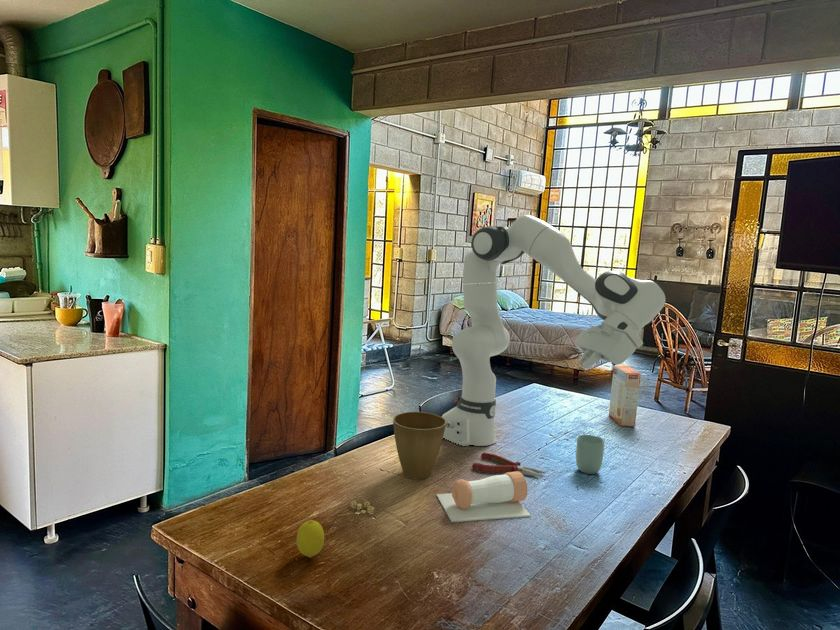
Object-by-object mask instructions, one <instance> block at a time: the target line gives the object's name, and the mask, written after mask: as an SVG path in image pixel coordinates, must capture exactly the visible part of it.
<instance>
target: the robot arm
mask: <svg viewBox="0 0 840 630" xmlns="http://www.w3.org/2000/svg"><path fill="white" fill-rule="evenodd" d="M470 244H471V249H472V250H471V251H469V252H468V253H467V254H466V255H465V257H464V263H463V268H462V269H463V270H462V289H463V290H462V291H463V294H462V295H463V307H464V309H465V311H466V312H467V313H468V314H469V316H470V319H471V322H472V323H471V324H472V326H467V327H465V328H463V329H461V330H460V331H458V332H456V333H455V334H454V335H453V337H452V340H451V349H452V351H453V354H454V355H455V356H456V357H457V358H458V360H459V363H460V367H461V372H462V373H461V374H462V388H461V396H458V397H456V398H454V403H457V404H456V406H454V407H453V408H450V410H448V411H446V412H445V413H443V414H442V416H441V417H442V418H444V419H445V420H446V426H445V431H444V435H443V438H445V439H444V440H446V439H447V441H448V440H449V442H450V441H451V443H453V442H454V443H453V444H455V443H456V445H458V444H459V445H458V446H460V445H462V447H470V446H469V445H474V446H475V447H484V446H490V445H494V444H495V443H497V441H498V439H497V435H496V426H495V416H496V407H497V405H496V403H497V400H496V384H497V377H496V374H495V373H494V372H493V371H492V367H491V361H490V359H491V357H494V356H498V355H499V354H501V353H503V352H504V351H505V350H506V349H508V347H509V346H510V342H511V336H510V333H509V331H508V329H507V328H506V327H505V325H504V323H503V321H502V318H501V317H502V316H501V314H500V311H499V305H498V289H497V288H498V287H497V269H498V266H499V265H500V264H501V265H505V264H507V263H510V262H512V261H515V260H517V259H519V258H521V257H522V256H523V255H524V254H527V255H528V256H530V257H531V258H532V259H533V260H535V261H536V262H537V263H538V264H541V265H542V266H543V267H545V268H546V269H547V270H548V271H550V272H551V273H553V274H554V275H556V276H557V277H558V278H559V279H561V280H562V281H564V283H565V284H566V285H568V286H569V287H570V288H571V289H573V290H574V291H575V292H577V294H579V295H580V296H581V297H583V299H584V300H586V301H587V302H588V303H589V304H590V305H591V307H592V308H593V310H594V311H595V314H596V315H597V316H598V317H599V318H600V319H601V320H603V321H602V322H601V323H600V324H598V325H596V326H591V327H588V328H587V329H585V331H584V332H582V333H581V334H580V335H579V336H577V337H576V338H575V340H574V341H573V344H574V345H575V347H576V348H577V350H579V351H580V352H583V354H582V356H581V358H580V359H579V361H578V365H579V366H580V367H583V368H585V369H588V368H590V367H591V366H592V365H594V364H596V363H598V362H600V360H604V361H606V362H609V363H611V364H614V365H617V366H620V365H621V364H623V363H625V362H626V361H627V360H628V359H629V358H630V357H632V355H633V353H635V351H636V350H637V349H639V348H640V347H642V346H643V345H644V342H643V340H642V339H641V337H640V336H639V334H640V332H641V331H642V329H643V328H644V327H645V326H646V325H648V324H649V323H651V322H652V320H654V319H655V318H656V316H657V315H658V314H660V312H661V311H662V309H663V308H664V307H665V304H666V295H665V292H664V290H663V289H662V287H661V286H660V285H659V284H657V282H655V281H653V280H649V279H646V280H643V279H637V278H634V277H631V276H629V275H626V274H625V273H623V272H621V271H618V270H607V271H605V272H603V273H600V275H599V276H598V277H597V278H594V277H593V276H592V275H591V274H589V273H588V272H587V271H586V270H584V268H583V267H582V265H580V263H579V261H578V259H577V256H576V254H575V252H574V249H573V245H572V244H571V242H570V240H569V239H568V238H567V237H566V235H564V233H563V232H561V231H560V230H559V229H557V228H556V227H554V226H552V225H551V224H549V223H547V222H546V221H544V220H542V219H541V218H538V217H536V216H533V215H530V214H523V215H520V216H519V217H517V218H516V219H515V220H513V223H512V224H511V226H510V227H508V226H502V225H500V226H499V225H497V226H496V225H488V226H484V227H481V228H479V229H477V230H476V231H475V232H474V233H473V235H472V238H471V243H470ZM474 446H473V447H474Z"/></svg>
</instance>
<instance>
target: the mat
mask: <svg viewBox="0 0 840 630" xmlns="http://www.w3.org/2000/svg"><path fill="white" fill-rule="evenodd" d="M435 496H436V497H438V498H437V499H438V500H439V502H440V504H441V507H442V508H443V510H444V511H445V513H446V514H447V517H448V518H449V520H450V521H451V523H459V522H473V521H474V522H475V521H488V520H501V519H514V518H515V519H519V518H530V517H531V514H530V513H529V512H528V510H527V509H526V508H525V507H524V506H523V505H522V503H520V501H516V502H509V501H506V502H500V503H485V502H484V503H477V504H471V505H470V506H469V507H468V508H466V509H462V508H460V507H458V506H457V505H456V503H455V501H454V498H453V497H452V492H450V493H436V495H435Z"/></svg>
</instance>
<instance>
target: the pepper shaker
mask: <svg viewBox="0 0 840 630" xmlns="http://www.w3.org/2000/svg"><path fill="white" fill-rule="evenodd" d="M452 486H453V487H452V492H451V493H452V497H453V498H454V501H455V503H456V505H457V506H458V507H460V508H462V509H466V508H468V507H469V506H470V505H471V504H477V503H484V502H485V503H500V502H506V501H509V502H516V501H519V502H521V501H525V499H527V496H528V483H527V480H526V478H525V475H523V474H522V473H521V472H518V471H516V472H508V473H503V474H496V475H491V476H488V477H486V478H485V477H484V478H482V479H476V480H469V481H467V480H466V479H463V478H460V479H458V480H456V481H455V482H454V483H453V485H452Z"/></svg>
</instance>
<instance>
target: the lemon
mask: <svg viewBox="0 0 840 630" xmlns="http://www.w3.org/2000/svg"><path fill="white" fill-rule="evenodd" d="M324 544H325V531H324V529H323V526H322V525H321V524H320V523H319V522H318V521H316V520H313V519H309V520H307V521H305V522H303V523H302V524H301V525H300V526H299V529H298V531H297V534H296V546H297V549H298V551H299V552H300V553H301V554H302V555H303V556H306V557H308V558H309V559H310V558H312V557H314V556H316V555H318V554H320V552H321V550H322V549H323V547H324Z"/></svg>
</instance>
